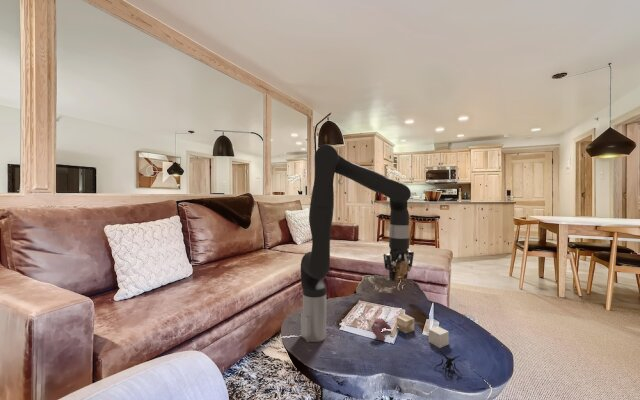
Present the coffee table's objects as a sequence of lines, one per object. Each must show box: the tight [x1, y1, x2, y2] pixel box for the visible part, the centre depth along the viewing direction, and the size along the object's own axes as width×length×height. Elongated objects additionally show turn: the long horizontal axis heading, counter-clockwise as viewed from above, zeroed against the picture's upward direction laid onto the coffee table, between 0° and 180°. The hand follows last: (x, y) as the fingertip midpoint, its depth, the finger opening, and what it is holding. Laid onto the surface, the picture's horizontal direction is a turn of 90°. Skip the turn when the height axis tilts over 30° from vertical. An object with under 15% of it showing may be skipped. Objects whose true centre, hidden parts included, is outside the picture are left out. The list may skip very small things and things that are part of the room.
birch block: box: [396, 314, 415, 334], centre depth 120 cm, size 5×5×5 cm
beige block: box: [428, 325, 450, 349], centre depth 110 cm, size 5×5×5 cm
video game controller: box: [371, 317, 392, 342], centre depth 116 cm, size 10×5×7 cm, turn 150°
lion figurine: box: [392, 261, 412, 285], centre depth 114 cm, size 15×5×9 cm, turn 10°
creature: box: [434, 351, 463, 379], centre depth 92 cm, size 8×5×8 cm
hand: (398, 279), depth 112 cm, fingers closed on lion figurine, 5 cm apart
